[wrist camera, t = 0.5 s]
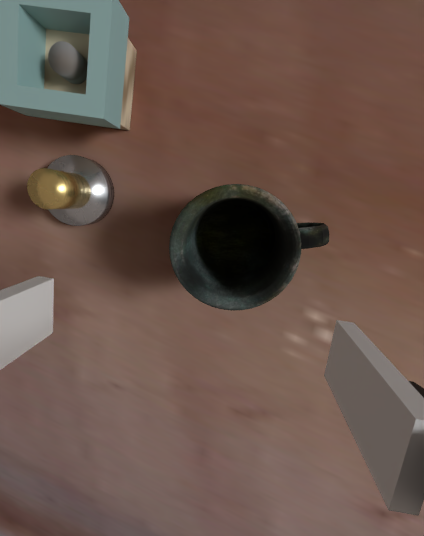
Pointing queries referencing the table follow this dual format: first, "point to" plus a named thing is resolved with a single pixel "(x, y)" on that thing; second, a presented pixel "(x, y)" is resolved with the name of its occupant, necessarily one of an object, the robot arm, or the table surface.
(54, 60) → the stand
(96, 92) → the teal square ring
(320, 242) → the mug
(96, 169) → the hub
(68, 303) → the table surface
